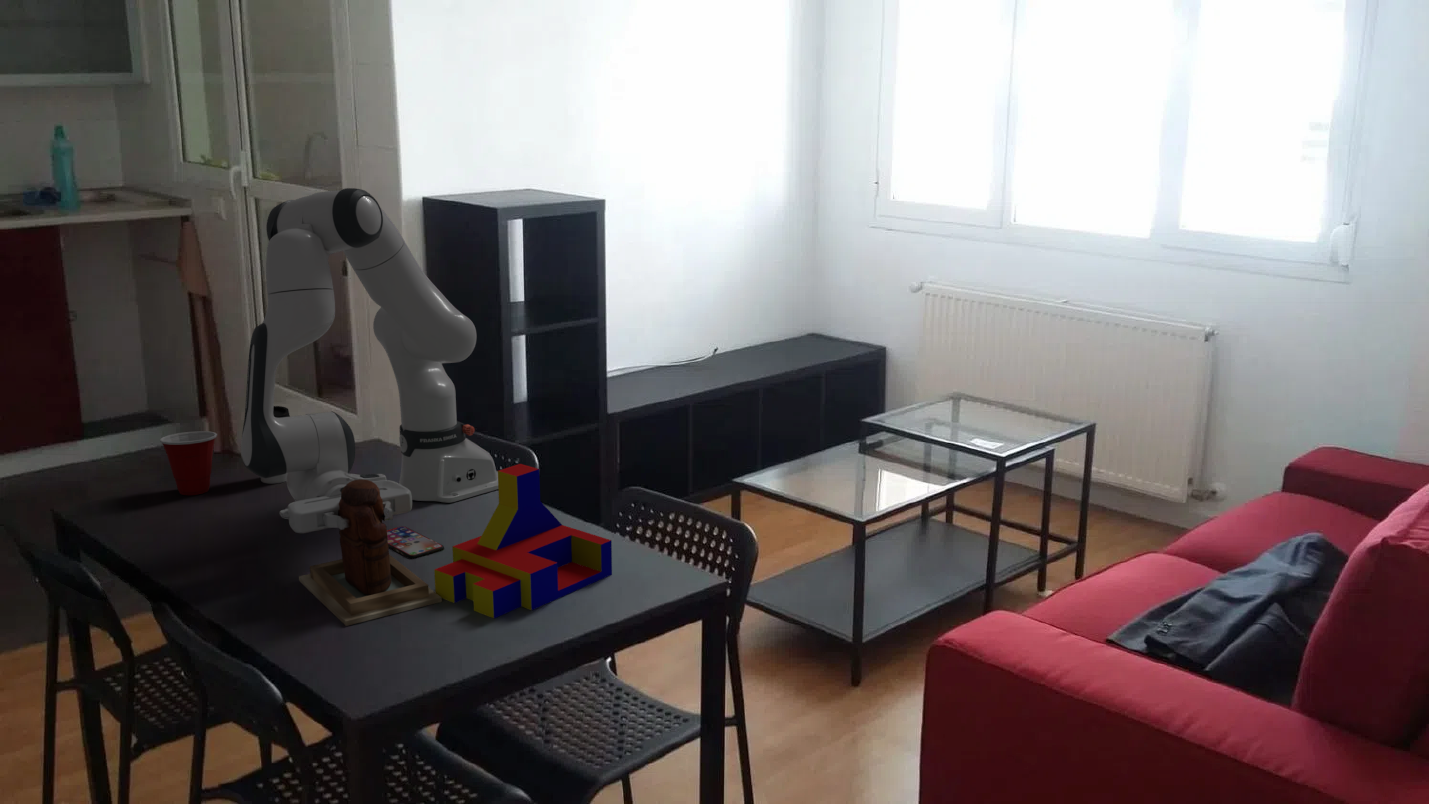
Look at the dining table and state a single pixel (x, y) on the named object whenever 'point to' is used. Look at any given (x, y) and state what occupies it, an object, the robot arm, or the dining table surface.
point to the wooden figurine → (364, 538)
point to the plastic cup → (190, 460)
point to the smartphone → (411, 543)
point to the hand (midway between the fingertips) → (367, 520)
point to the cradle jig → (358, 606)
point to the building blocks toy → (522, 554)
